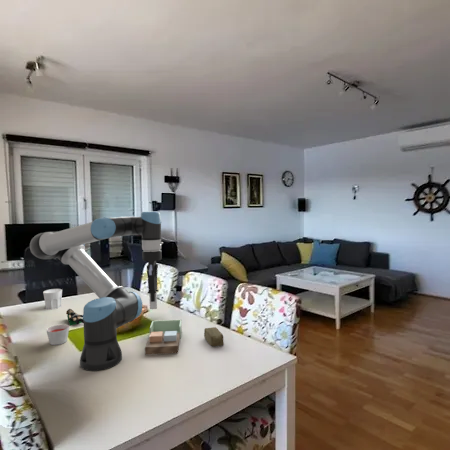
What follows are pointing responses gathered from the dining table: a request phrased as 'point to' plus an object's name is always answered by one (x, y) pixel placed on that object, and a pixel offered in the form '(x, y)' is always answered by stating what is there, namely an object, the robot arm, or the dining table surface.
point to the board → (162, 346)
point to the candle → (57, 334)
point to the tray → (166, 326)
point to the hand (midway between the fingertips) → (153, 308)
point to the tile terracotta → (156, 336)
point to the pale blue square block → (170, 336)
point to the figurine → (74, 317)
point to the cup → (53, 298)
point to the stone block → (213, 336)
